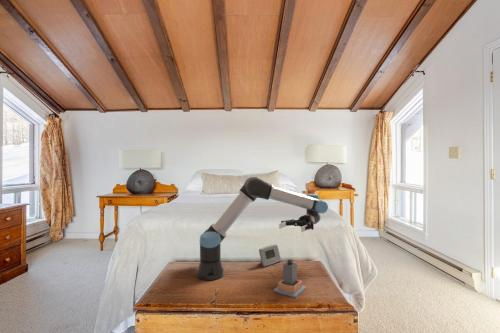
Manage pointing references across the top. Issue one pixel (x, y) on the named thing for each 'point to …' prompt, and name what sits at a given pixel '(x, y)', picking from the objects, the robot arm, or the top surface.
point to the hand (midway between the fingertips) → (290, 227)
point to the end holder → (290, 288)
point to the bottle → (290, 273)
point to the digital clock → (269, 255)
